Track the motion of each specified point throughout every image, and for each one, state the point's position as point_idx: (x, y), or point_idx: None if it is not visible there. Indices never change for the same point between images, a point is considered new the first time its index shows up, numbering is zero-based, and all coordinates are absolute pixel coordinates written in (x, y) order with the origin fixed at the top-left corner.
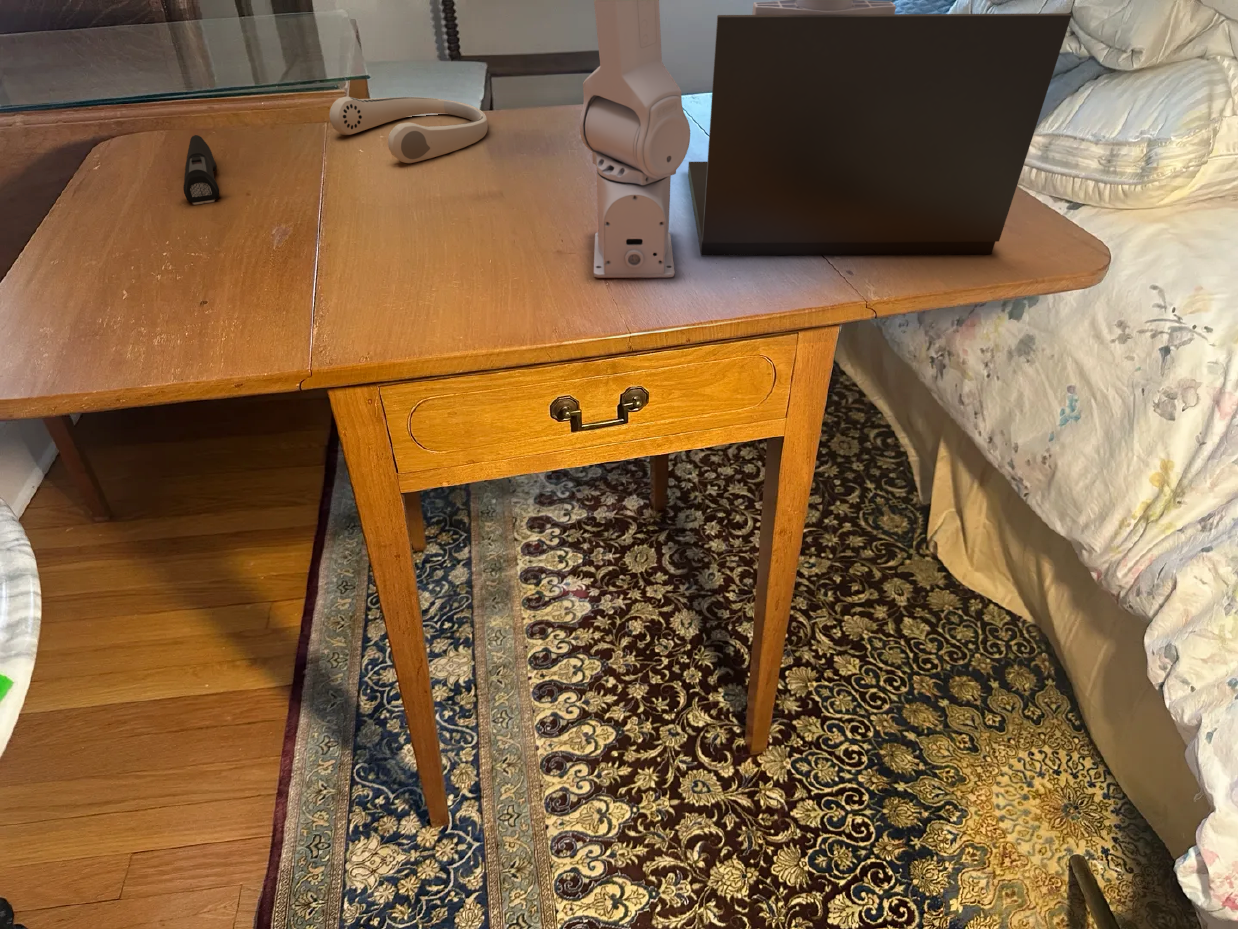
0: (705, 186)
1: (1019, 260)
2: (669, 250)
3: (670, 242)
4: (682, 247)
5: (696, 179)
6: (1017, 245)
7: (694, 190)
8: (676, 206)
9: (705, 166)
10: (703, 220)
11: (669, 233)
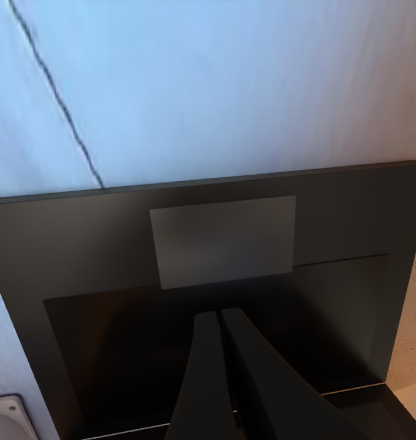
0: (31, 311)
1: (390, 371)
2: (28, 435)
3: (24, 420)
4: (43, 409)
5: (7, 288)
6: (404, 345)
7: (15, 326)
8: (2, 314)
9: (9, 229)
10: (53, 405)
11: (16, 404)
